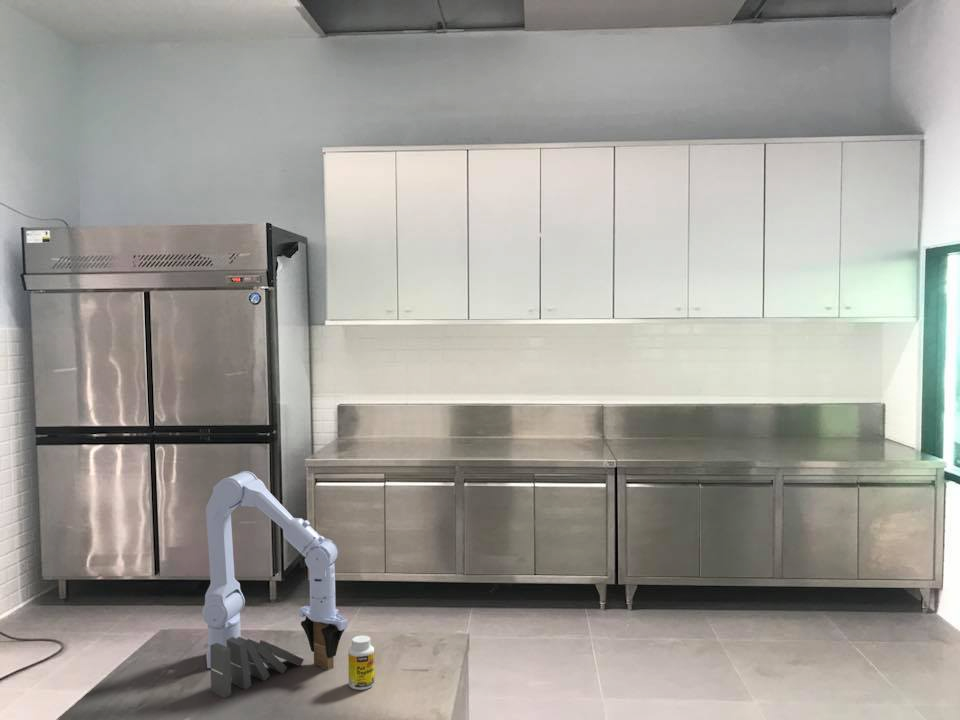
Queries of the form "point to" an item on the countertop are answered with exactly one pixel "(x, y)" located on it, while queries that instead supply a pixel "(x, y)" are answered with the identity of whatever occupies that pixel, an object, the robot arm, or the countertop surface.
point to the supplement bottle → (361, 663)
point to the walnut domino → (321, 647)
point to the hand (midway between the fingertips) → (323, 653)
